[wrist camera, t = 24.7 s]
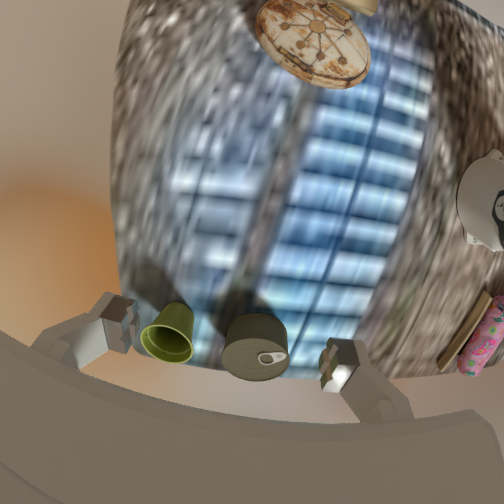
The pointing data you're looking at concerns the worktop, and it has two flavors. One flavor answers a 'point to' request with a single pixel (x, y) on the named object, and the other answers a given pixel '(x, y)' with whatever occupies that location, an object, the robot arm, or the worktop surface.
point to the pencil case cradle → (465, 331)
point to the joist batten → (357, 5)
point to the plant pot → (170, 334)
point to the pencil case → (483, 339)
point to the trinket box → (314, 42)
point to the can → (256, 348)
